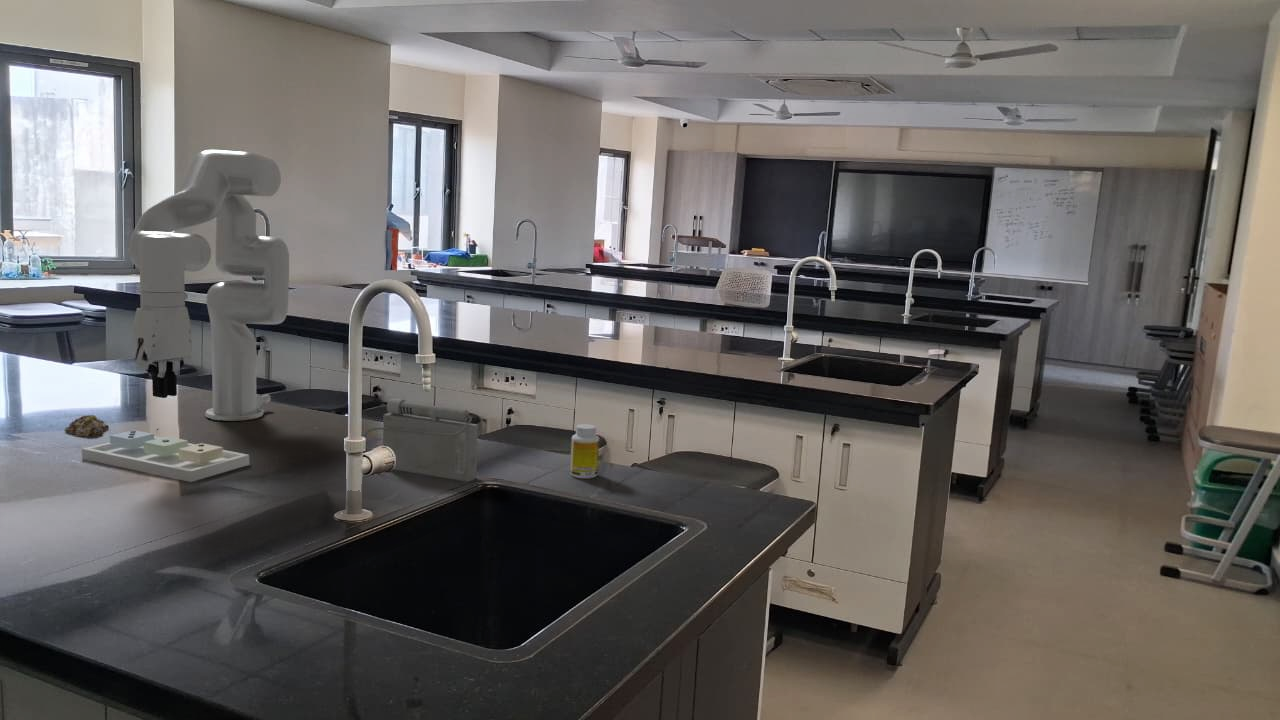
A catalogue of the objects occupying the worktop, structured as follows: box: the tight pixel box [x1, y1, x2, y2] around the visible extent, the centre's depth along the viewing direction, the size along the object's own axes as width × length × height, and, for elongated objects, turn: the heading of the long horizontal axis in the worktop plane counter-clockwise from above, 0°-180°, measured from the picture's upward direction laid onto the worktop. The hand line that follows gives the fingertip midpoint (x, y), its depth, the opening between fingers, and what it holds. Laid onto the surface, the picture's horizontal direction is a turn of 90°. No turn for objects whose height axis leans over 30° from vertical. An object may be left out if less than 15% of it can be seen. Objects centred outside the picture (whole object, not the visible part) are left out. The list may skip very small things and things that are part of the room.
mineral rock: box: [64, 414, 110, 438], centre depth 202 cm, size 11×4×8 cm
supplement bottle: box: [569, 423, 600, 480], centre depth 191 cm, size 6×6×10 cm
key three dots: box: [109, 429, 155, 449], centre depth 187 cm, size 5×5×2 cm
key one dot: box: [144, 436, 189, 456], centre depth 184 cm, size 5×5×2 cm
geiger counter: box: [362, 398, 479, 482], centre depth 186 cm, size 14×6×25 cm
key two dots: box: [179, 443, 224, 464], centre depth 180 cm, size 5×5×2 cm
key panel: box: [81, 435, 250, 483], centre depth 184 cm, size 14×28×2 cm, turn 68°
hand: (164, 395), depth 182 cm, fingers closed
